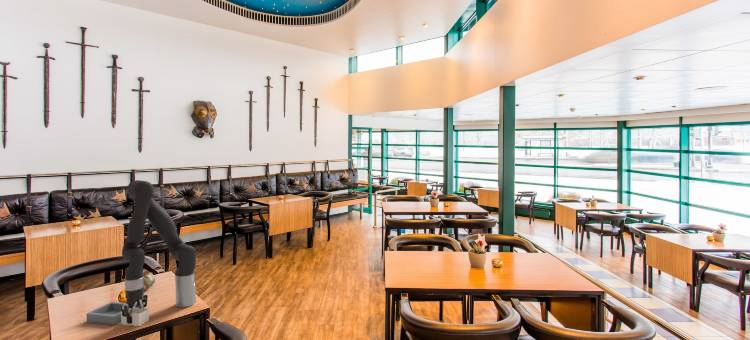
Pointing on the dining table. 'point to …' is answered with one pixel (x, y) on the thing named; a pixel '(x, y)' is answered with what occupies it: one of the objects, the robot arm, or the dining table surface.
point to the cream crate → (137, 317)
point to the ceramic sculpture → (148, 281)
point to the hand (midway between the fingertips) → (135, 320)
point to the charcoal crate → (106, 314)
